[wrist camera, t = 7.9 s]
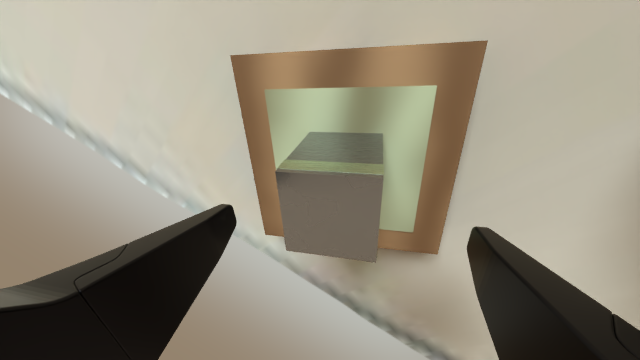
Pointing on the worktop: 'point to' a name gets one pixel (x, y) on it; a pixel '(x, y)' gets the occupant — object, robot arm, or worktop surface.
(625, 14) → the worktop surface
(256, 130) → the platform
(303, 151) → the grey box
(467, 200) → the worktop surface
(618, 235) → the worktop surface
